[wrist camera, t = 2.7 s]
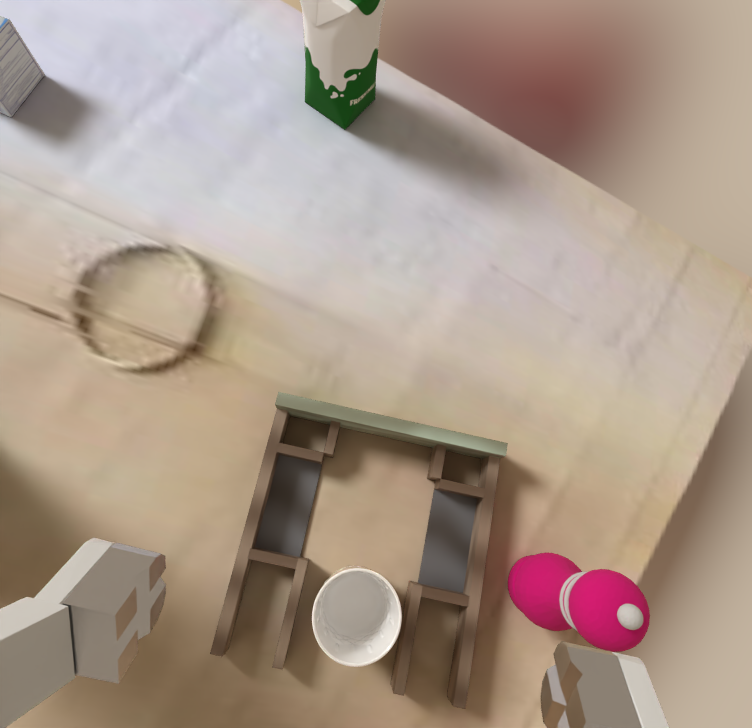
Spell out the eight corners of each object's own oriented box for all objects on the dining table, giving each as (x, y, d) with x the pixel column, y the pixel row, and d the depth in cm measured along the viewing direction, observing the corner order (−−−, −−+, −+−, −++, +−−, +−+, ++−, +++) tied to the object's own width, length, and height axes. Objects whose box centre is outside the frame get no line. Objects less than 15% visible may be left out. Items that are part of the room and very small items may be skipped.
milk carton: (346, 138, 72) (351, -1, 53) (294, 102, 73) (281, -47, 54) (384, 98, 74) (402, -47, 55) (334, 64, 75) (334, -91, 56)
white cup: (331, 654, 54) (331, 683, 44) (304, 578, 56) (298, 590, 46) (401, 620, 55) (416, 642, 46) (372, 547, 57) (381, 553, 48)
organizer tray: (458, 698, 54) (470, 716, 49) (216, 646, 53) (205, 659, 48) (493, 449, 61) (507, 443, 56) (282, 401, 61) (278, 391, 56)
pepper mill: (579, 579, 58) (701, 609, 39) (544, 636, 56) (654, 698, 37) (526, 536, 59) (620, 545, 40) (489, 591, 57) (569, 628, 38)
